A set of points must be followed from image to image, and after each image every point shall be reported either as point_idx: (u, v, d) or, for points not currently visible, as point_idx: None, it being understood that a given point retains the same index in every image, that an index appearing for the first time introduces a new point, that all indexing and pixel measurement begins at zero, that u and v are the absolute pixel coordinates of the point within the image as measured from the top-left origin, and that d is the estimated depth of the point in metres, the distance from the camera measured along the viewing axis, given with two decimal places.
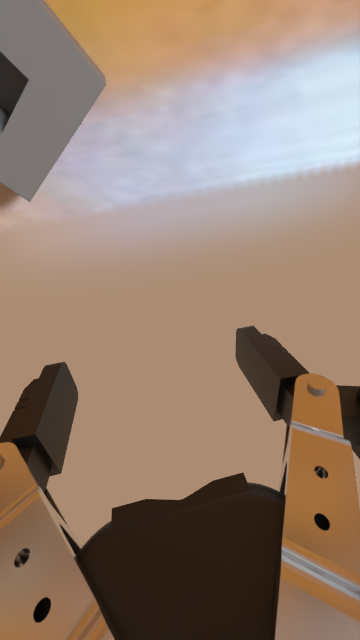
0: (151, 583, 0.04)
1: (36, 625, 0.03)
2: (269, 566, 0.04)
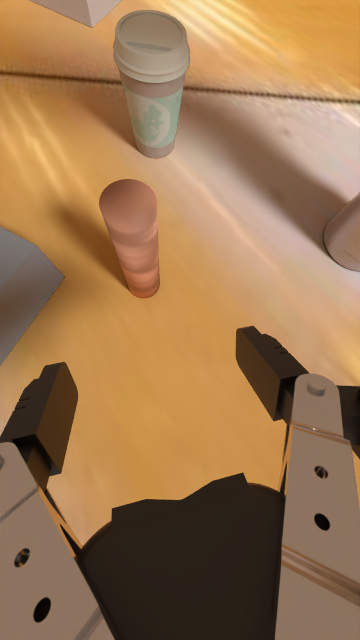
0: (151, 583, 0.04)
1: (36, 625, 0.03)
2: (269, 566, 0.04)
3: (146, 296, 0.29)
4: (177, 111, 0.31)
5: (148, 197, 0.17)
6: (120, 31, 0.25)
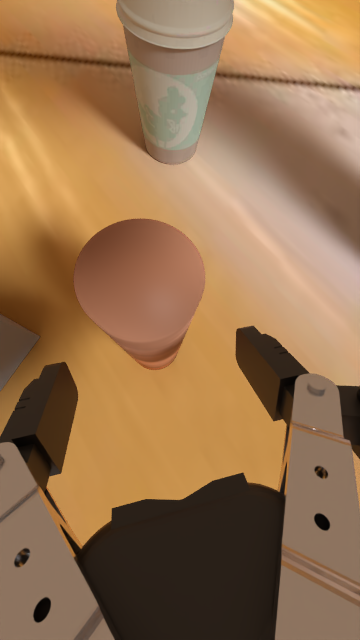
0: (151, 583, 0.04)
1: (37, 626, 0.03)
2: (269, 566, 0.04)
3: (159, 368, 0.20)
4: (207, 98, 0.21)
5: (187, 262, 0.07)
6: None
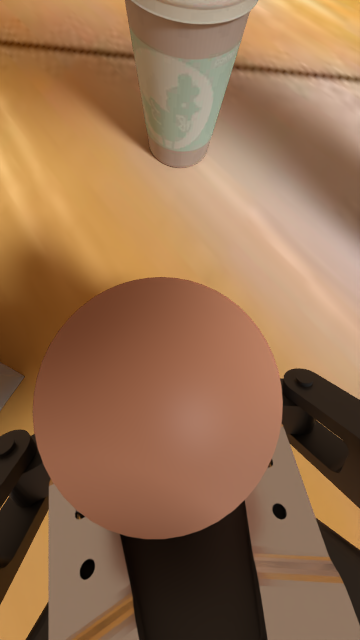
0: (151, 583, 0.04)
1: (80, 581, 0.04)
2: (246, 581, 0.04)
3: None
4: (224, 90, 0.18)
5: (246, 362, 0.04)
6: None
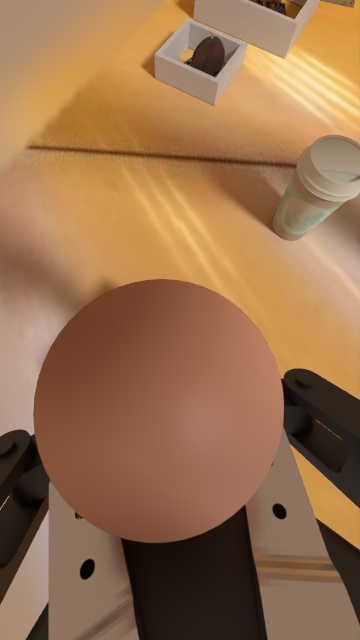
0: (151, 583, 0.04)
1: (81, 581, 0.04)
2: (246, 581, 0.04)
3: None
4: None
5: (248, 365, 0.04)
6: (314, 158, 0.27)
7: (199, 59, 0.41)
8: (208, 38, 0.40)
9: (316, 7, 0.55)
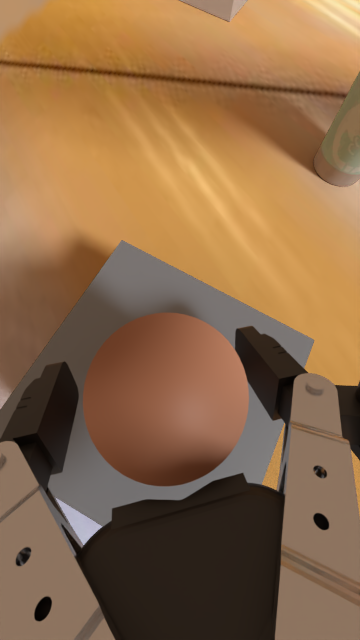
0: (151, 583, 0.04)
1: (38, 624, 0.04)
2: (269, 566, 0.04)
3: None
4: None
5: (225, 372, 0.06)
6: None
7: None
8: None
9: None
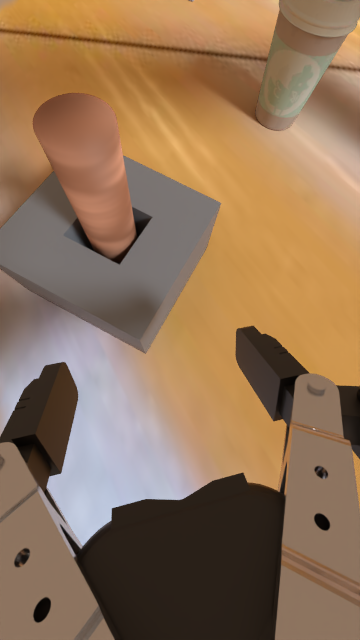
0: (151, 583, 0.04)
1: (37, 624, 0.03)
2: (269, 566, 0.04)
3: None
4: (322, 75, 0.29)
5: (105, 116, 0.12)
6: None
7: None
8: None
9: None
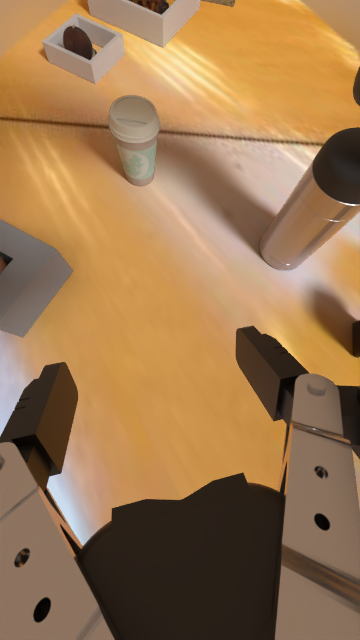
0: (151, 583, 0.04)
1: (37, 624, 0.03)
2: (269, 566, 0.04)
3: None
4: (153, 156, 0.44)
5: None
6: (112, 111, 0.38)
7: (67, 43, 0.52)
8: (70, 27, 0.50)
9: (197, 6, 0.65)
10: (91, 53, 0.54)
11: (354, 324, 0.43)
